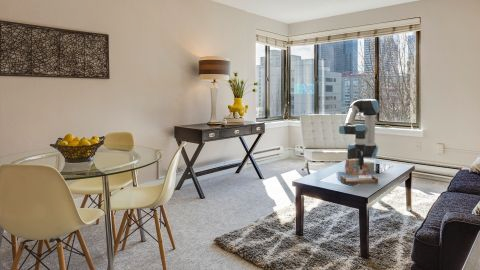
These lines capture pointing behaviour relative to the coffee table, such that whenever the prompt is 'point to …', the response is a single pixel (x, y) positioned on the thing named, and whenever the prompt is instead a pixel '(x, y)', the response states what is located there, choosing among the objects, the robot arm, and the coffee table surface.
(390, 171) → the coffee table surface
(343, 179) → the base board
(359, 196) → the coffee table surface
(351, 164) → the stack of blocks
